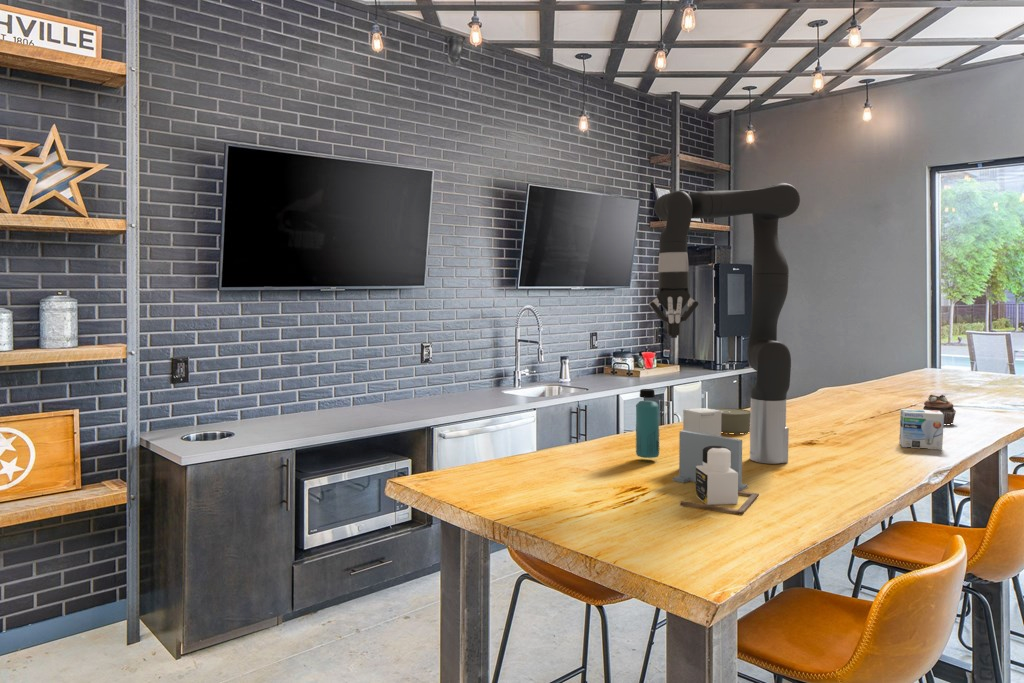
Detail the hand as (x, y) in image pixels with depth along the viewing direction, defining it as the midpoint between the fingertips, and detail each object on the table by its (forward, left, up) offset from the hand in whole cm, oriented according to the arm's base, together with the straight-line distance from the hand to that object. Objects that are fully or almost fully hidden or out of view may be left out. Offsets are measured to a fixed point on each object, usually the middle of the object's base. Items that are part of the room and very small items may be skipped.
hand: (673, 337), depth 177 cm
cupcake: (-106, -64, -35) cm, 129 cm away
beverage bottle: (+5, -10, -35) cm, 37 cm away
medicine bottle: (-4, +27, -35) cm, 44 cm away
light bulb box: (-79, -27, -35) cm, 91 cm away
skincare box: (-8, -2, -35) cm, 36 cm away
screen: (-6, +14, -35) cm, 38 cm away
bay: (-5, +27, -35) cm, 44 cm away
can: (-30, -51, -35) cm, 69 cm away
